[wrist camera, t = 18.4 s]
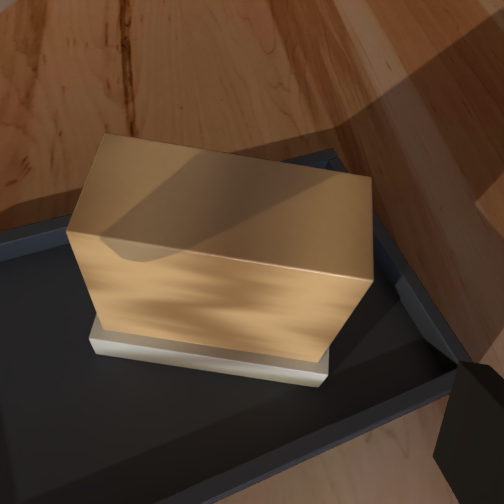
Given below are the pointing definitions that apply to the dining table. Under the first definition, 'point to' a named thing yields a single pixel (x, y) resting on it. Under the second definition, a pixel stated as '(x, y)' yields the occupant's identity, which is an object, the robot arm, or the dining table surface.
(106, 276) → the eraser
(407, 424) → the dining table surface
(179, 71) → the dining table surface
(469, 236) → the dining table surface
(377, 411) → the tray
